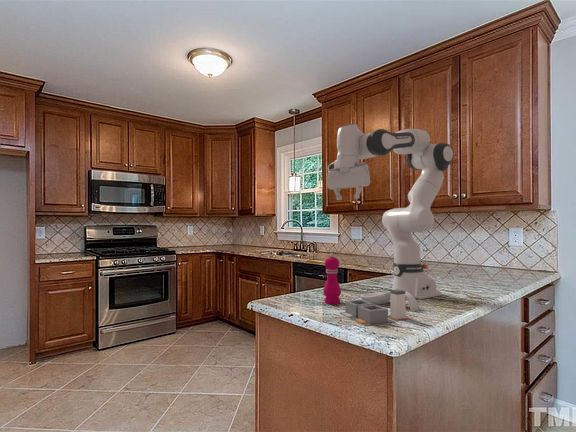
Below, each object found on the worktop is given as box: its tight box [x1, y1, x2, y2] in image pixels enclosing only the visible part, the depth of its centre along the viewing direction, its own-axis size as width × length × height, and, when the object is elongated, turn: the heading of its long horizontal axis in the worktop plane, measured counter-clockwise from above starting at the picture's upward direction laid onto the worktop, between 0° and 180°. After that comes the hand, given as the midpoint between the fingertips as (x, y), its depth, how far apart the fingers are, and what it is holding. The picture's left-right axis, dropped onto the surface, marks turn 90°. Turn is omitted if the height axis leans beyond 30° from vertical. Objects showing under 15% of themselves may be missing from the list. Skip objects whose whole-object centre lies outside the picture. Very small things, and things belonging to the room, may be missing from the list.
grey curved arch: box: [360, 290, 420, 312], centre depth 136 cm, size 24×12×7 cm, turn 40°
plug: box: [389, 289, 407, 319], centre depth 118 cm, size 3×3×9 cm
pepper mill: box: [322, 252, 342, 305], centre depth 144 cm, size 7×7×20 cm
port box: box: [339, 299, 396, 327], centre depth 118 cm, size 11×16×5 cm
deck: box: [388, 314, 413, 322], centre depth 118 cm, size 7×7×1 cm
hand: (347, 199), depth 140 cm, fingers open, 8 cm apart
